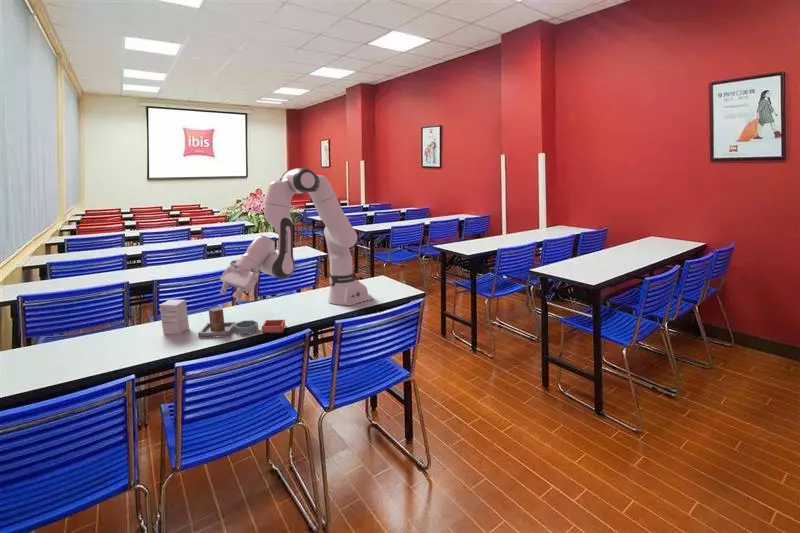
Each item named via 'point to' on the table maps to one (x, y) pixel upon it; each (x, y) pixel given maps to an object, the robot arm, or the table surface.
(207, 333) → the slate tray
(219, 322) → the walnut block
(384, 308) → the table surface
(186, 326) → the supplement box
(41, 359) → the table surface
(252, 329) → the grey octagonal bowl
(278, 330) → the bin
